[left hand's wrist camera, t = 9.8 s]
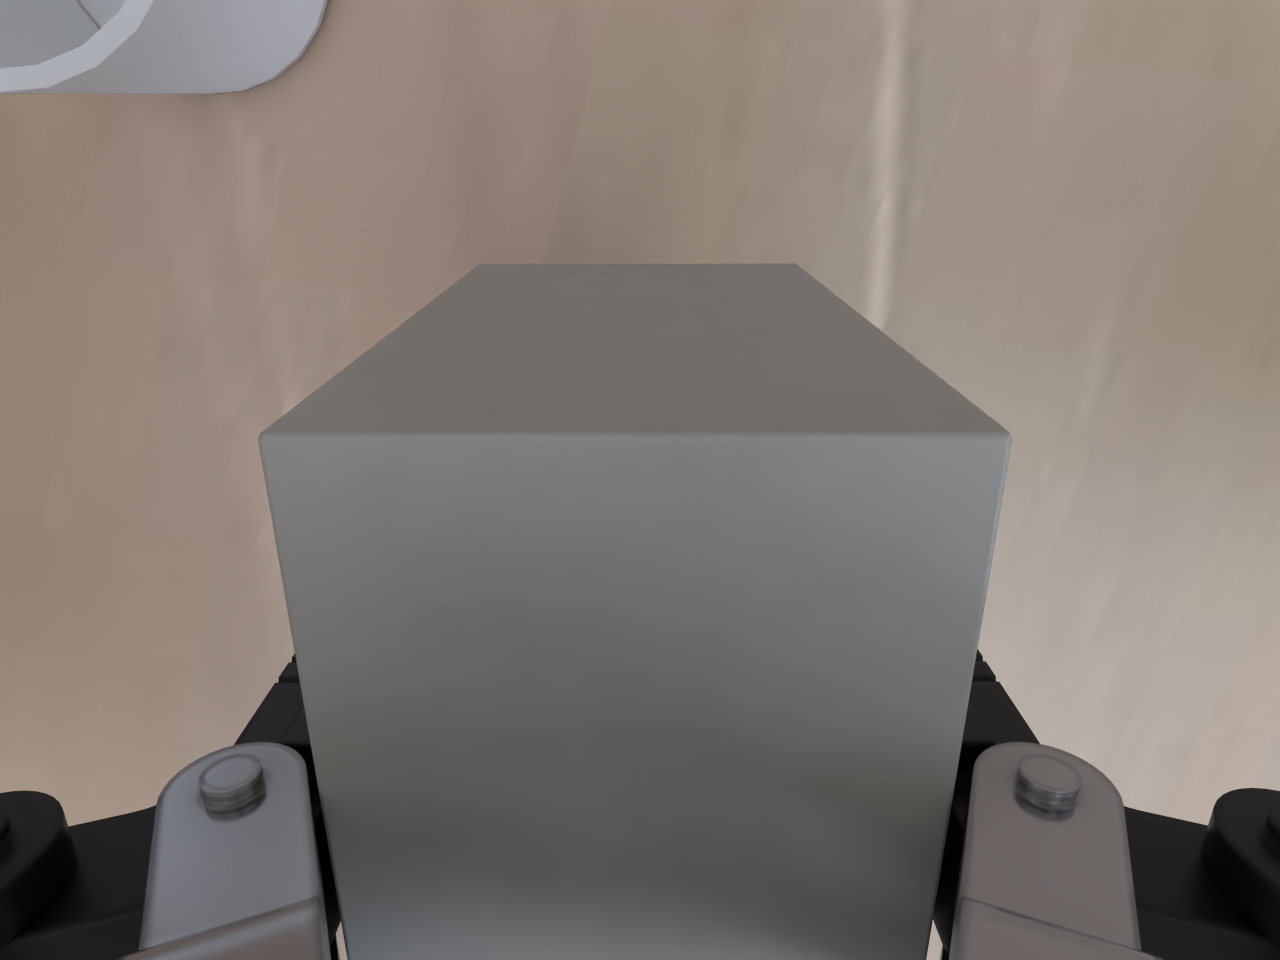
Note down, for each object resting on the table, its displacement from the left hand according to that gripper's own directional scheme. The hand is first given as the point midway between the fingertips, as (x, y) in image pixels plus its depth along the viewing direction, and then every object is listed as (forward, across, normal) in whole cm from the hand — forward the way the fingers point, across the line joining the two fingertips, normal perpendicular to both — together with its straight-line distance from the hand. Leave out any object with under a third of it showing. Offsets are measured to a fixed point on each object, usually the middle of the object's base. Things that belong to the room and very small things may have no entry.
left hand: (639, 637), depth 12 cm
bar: (+5, 0, -9) cm, 10 cm away
